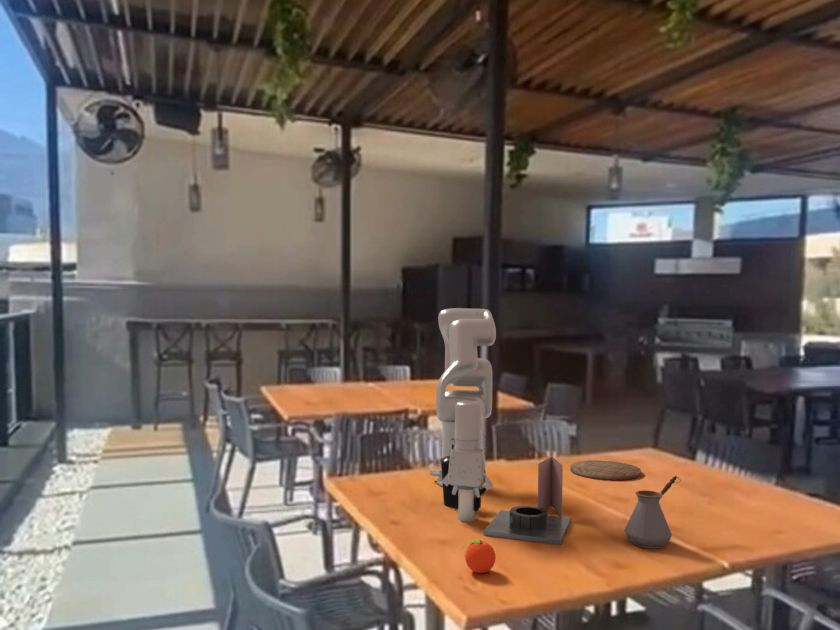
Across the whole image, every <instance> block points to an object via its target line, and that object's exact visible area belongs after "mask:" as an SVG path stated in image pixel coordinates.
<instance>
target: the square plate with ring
mask: <svg viewBox="0 0 840 630" xmlns="http://www.w3.org/2000/svg"><path fill="white" fill-rule="evenodd" d="M571 522H572V518H571V517H567V516H566V517H565V516H562V517H561V516H560V515H558V516H557V515H549V511H548V510H547V509H546V510H545V509H543V508H539V507H538V506H532V505H531V506H530V505H518V506H514V507H513V506H512V507H511V508H510V509H509V510H505V509H500V511H499V512H498V513H497V514H496V515H495V516H494V518H493V519H492V520H491V521H490V522H489V524H488V525H487V526H486V527H485V528H484V530H483V536H486V537H494V538H501V539H502V538H503V539H510V540H519V541H526V542H527V541H528V542H533V543H534V542H535V543H543V544H550V545H559V546H560V545H561V544H562V542H563V540H564V538H565V536H566V534H567V531H568V530H569V527H570V525H571Z"/></svg>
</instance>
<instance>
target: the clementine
mask: <svg viewBox="0 0 840 630" xmlns="http://www.w3.org/2000/svg"><path fill="white" fill-rule="evenodd" d="M467 544H469V545H468V546H467V547H466V550H465V555H464V559H465V563H466V566H467V567H468V568H469V569H470V571H472V572H474V573H476V574H485V573H487V572H489V571H490V570H492V569H493V567H494V566H495V563H496V559H497V557H496V556H497V555H496V552H495V550H494V548H493V545H491V544H490V543H488V542H487V541H483V540H471V541H468V542H466V543H465V545H467ZM461 549H464V546H462V548H461Z"/></svg>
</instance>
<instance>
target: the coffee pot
mask: <svg viewBox="0 0 840 630" xmlns="http://www.w3.org/2000/svg"><path fill="white" fill-rule="evenodd" d="M677 479H678V480H679V481H676V480H677ZM680 482H682V481H681V478H679V477H678V476H677V475H674V476H672V478H671V479H669V482H667V483H666V484H665V486H664V487H663V489H662V490H661V491H660V492H658V491H654V490H636V491H635V496H636V497H637V502H636V504H635V507H634V509H633V511H632V513H631V515H630V517H629V520H628V521H627V524H626V526H625V528H624V533H625V535H626V537H627V538H628V539H629V541H631V542H632V544H633V545H635V546H637V547H640V548H646V549H660V548H663V547H664V546H665V545H666V544H667V543H669V542H670V540H671V538H672V535H673V534H672V532H671V529H670V527H669V525H668V522H667V519H666V517H665V514H664V511H663V509H662V507H661V503H660V500H661V498H662V497H663V496H664V495H665V494H666V493H667V492H668V491H669V489H671V487H672V485H673V484H675V483H677V484H679V483H680Z"/></svg>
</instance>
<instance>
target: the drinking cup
mask: <svg viewBox="0 0 840 630" xmlns="http://www.w3.org/2000/svg"><path fill="white" fill-rule="evenodd" d="M452 440H453V438H452ZM453 448H454V445H452V449H453ZM449 461H450V455H449V456H445V457H443V458H442V457H441V458H440V459H439V462H440V469H441V470H442V480H443V479H444V478H445V476H446V475H447V474H448V471H449ZM442 484H443V486H442V496H443V505H444V506H446V507H450V508H451V507H453V508H455V505H453V494H452V492H451V491H450V490H449V489H448V487H447V486H446V485H445V484H444V483H443V482H442Z"/></svg>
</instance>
